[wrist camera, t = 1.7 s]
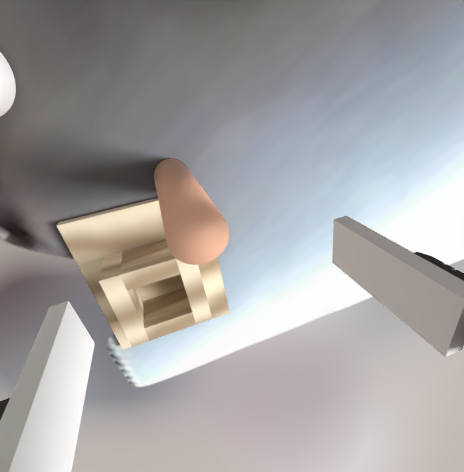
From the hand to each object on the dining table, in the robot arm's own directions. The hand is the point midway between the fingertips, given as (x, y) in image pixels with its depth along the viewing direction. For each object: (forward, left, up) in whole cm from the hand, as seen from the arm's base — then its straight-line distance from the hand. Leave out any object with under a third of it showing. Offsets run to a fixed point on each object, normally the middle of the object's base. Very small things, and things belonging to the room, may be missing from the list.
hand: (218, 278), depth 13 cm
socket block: (+12, -5, -20) cm, 24 cm away
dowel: (0, 0, -20) cm, 21 cm away
